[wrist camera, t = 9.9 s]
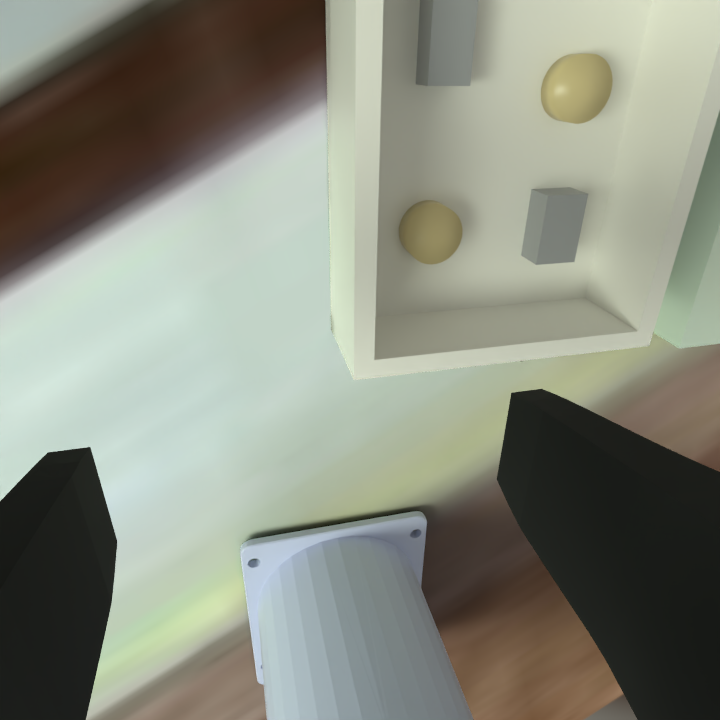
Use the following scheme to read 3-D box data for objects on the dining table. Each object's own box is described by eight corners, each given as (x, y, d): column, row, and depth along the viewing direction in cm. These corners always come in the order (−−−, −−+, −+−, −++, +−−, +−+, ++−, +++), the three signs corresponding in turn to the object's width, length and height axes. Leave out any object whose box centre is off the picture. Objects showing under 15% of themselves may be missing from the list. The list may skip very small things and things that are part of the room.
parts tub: (586, 305, 21) (649, 346, 18) (331, 329, 19) (353, 380, 16) (677, -93, 15) (790, -130, 12) (323, -122, 13) (357, -175, 10)
